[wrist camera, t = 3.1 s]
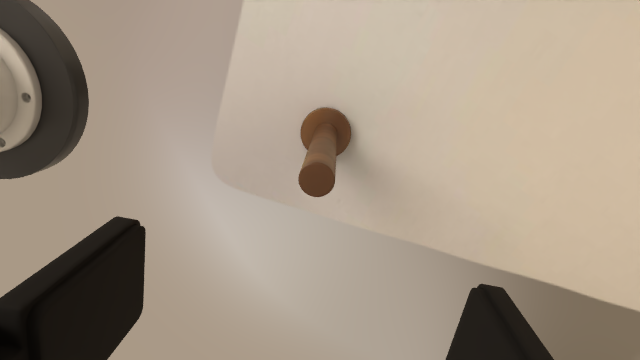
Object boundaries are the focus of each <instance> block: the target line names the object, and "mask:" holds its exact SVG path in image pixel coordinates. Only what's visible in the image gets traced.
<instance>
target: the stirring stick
mask: <svg viewBox="0 0 640 360" xmlns="http://www.w3.org/2000/svg"><path fill="white" fill-rule="evenodd" d="M350 138H351V129H350V124H349V122H348V120H347V118H346V117H345V116H344V115H343V114H342V113H341V112H339V111H338V110H336V109H333V108H319V109H316V110H314V111H313V112H311V113H310V114H309V115H308V116H307V117H306V118H305V120H304V122H303V124H302V127H301V139H302V142H303V145H304V146H305V148H306V149H307V150H308V151H307V154H306V157H305V159H304V162H303V165H302V168H301V171H300V174H299V185H300V187H301V189H302V190H303V191H304V192H305V193H306V194H308V195H310V196H313V197H321V196H324V195H326V194H328V193H329V192H330V191H331V190H332V189H333V187H334V184H335V171H336V156H337V155H339V154H341V153H342V152H343V151H344V150H345V149H346V148H347V146H348V144H349V142H350Z"/></svg>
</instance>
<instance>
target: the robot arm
mask: <svg viewBox="0 0 640 360" xmlns="http://www.w3.org/2000/svg"><path fill="white" fill-rule="evenodd" d="M41 110H42V93H41V88H40V83H39V80H38V77H37V74H36V72H35V69H34V67H33V65H32V64H31V62H30V60H29V58H28V56H27V55H26V54H25V52H24V51H23V50H22V48H21V47H20V46H19V45H18V43H17V42H16V41H15V40H14V39H12V38H11V37H10V36H9V35H8V34H7V33H6V32H5V31H3V30H2V29H0V152H2V151H6V150H10V149H12V148H15V147H17V146H19V145H21V144H22V143H23V142H25V141H26V140H27V139H28V138H29V137H30V136H31V135H32V133H33V132H34V131H35V129H36V127H37V125H38V122H39V120H40V116H41ZM144 262H145V228H144V227H143V226H140V222H139V221H138V220H134V219H128V218H123V217H115V218H113V219H111V220H110V221H109V222H107V223H106V224H104V225H103V226H102V227H100V228H99V229H97V230H96V231H94V232H93V233H92V234H90V235H89V236H87V237H86V238H84V239H83V240H82V241H80V242H79V243H78V244H76V245H75V246H74V247H72V248H70V249H69V250H68V251H66V252H65V253H63V254H62V255H60V256H59V257H58V258H56V259H55V260H53V261H52V262H50V263H49V264H48V265H46V266H45V267H44V268H42V269H41V270H39V271H38V272H37V273H35V274H33V275H32V276H31V277H29V278H28V279H27V280H25V281H24V282H22V283H21V284H19V285H18V286H16V287H15V288H14V289H12V290H11V291H10V292H8V293H7V294H5V295H4V296H2V297H1V298H0V360H107V359H108V358H109V357H110V355H111V354H112V353H113V351H114V350H115V349H116V347H117V346H118V345H119V344H120V342H121V341H122V340H123V338H124V337H125V336H126V335H127V333H128V332H129V331H130V329H131V328H132V327H133V325H134V324H135V323H136V322H137V320H138V319H139V317H140V315H141V313H142V309H143V293H144ZM446 360H554V359H553V358H552V356H551V355H550V353H549V352H548V351H547V349H546V348H545V347H544V345H543V344H542V342H541V341H540V339H539V338H538V337H537V335H536V334H535V332H534V331H533V330H532V328H531V327H530V325H529V324H528V322H527V321H526V320H525V318H524V317H523V315H522V314H521V312H520V311H519V310H518V308H517V307H516V306H515V304H514V303H513V301H512V300H511V298H510V297H509V296H508V294H507V293H506V291H505V290H504V289H503V288H501V287H496V286H491V285H485V284H480V285H479V286H478V287H477V288H472V289H471V291H470V293H469V296H468V299H467V302H466V305H465V308H464V310H463V313H462V316H461V318H460V322H459V324H458V327H457V330H456V332H455V335H454V338H453V341H452V343H451V346H450V349H449V352H448V355H447V357H446Z"/></svg>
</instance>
